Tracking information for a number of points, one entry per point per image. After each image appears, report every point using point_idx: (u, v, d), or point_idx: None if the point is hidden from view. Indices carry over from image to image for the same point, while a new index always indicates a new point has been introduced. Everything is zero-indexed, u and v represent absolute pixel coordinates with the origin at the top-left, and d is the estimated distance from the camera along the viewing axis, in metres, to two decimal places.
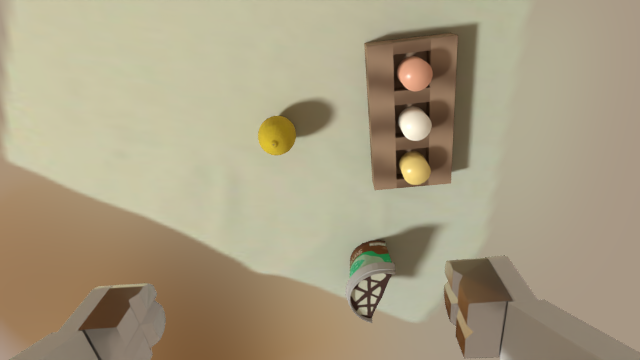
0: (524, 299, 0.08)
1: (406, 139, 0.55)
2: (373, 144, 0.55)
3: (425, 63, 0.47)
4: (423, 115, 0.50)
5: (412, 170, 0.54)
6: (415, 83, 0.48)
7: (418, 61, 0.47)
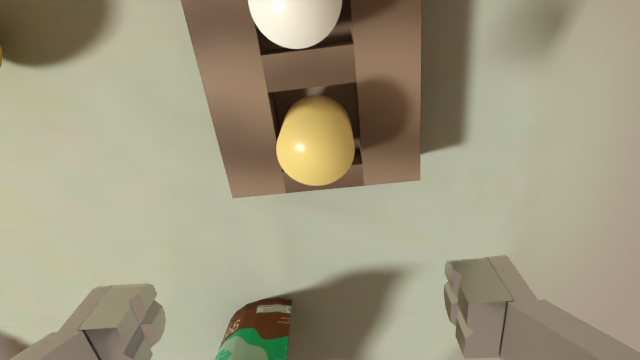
0: (524, 299, 0.08)
1: (291, 59, 0.20)
2: (203, 75, 0.20)
3: None
4: None
5: (301, 144, 0.19)
6: None
7: None
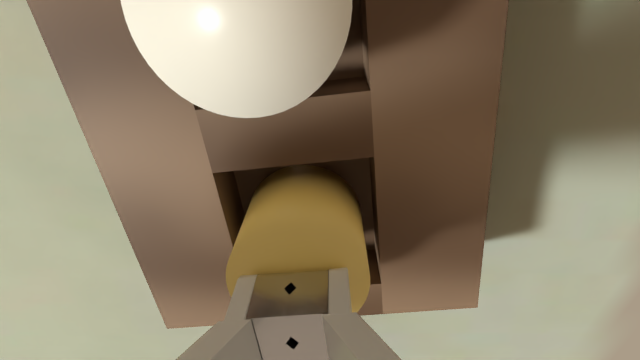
0: (337, 311, 0.08)
1: None
2: (93, 143, 0.11)
3: None
4: None
5: (272, 272, 0.10)
6: None
7: None
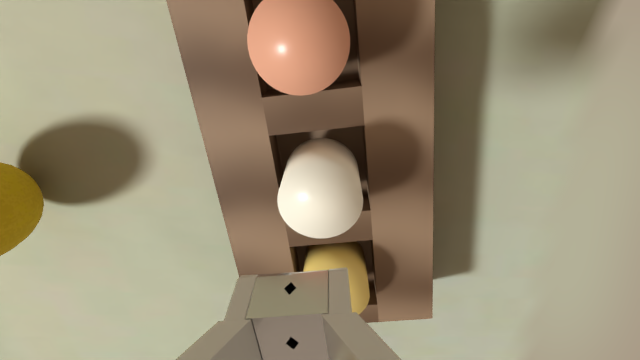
0: (338, 312, 0.08)
1: None
2: (230, 232, 0.22)
3: None
4: (335, 169, 0.16)
5: None
6: (295, 70, 0.15)
7: None
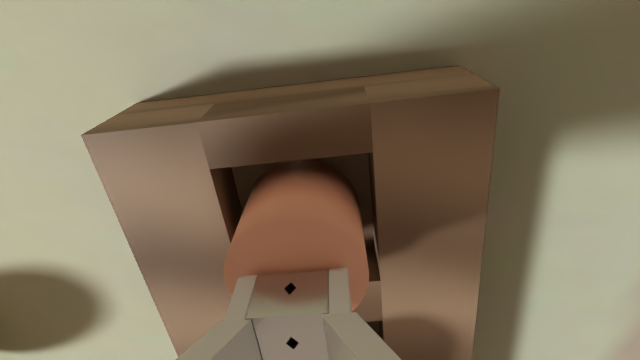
0: (338, 312, 0.08)
1: None
2: None
3: (329, 231, 0.09)
4: None
5: None
6: None
7: (292, 223, 0.09)
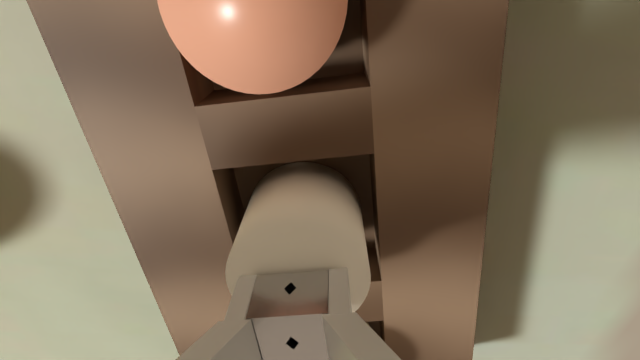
0: (337, 312, 0.08)
1: None
2: (165, 310, 0.14)
3: None
4: (322, 230, 0.09)
5: None
6: (249, 49, 0.08)
7: None
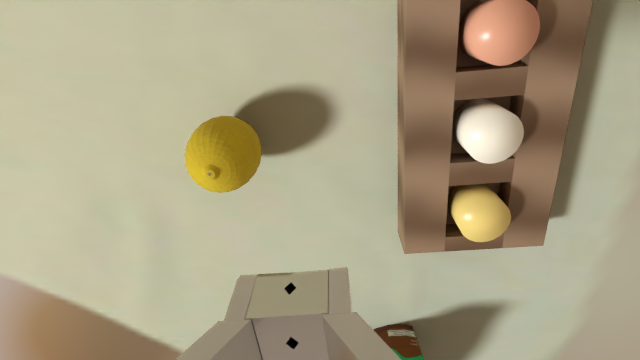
0: (338, 312, 0.08)
1: (470, 166, 0.29)
2: (407, 174, 0.29)
3: (527, 5, 0.23)
4: (510, 115, 0.25)
5: (477, 217, 0.29)
6: (501, 49, 0.24)
7: (513, 1, 0.22)
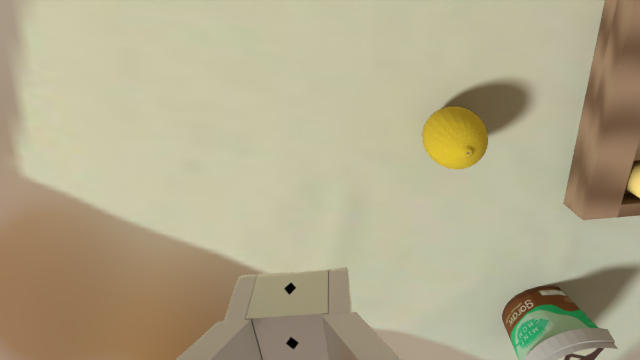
0: (338, 312, 0.08)
1: None
2: (601, 151, 0.35)
3: None
4: None
5: None
6: None
7: None
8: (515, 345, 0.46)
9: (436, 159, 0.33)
